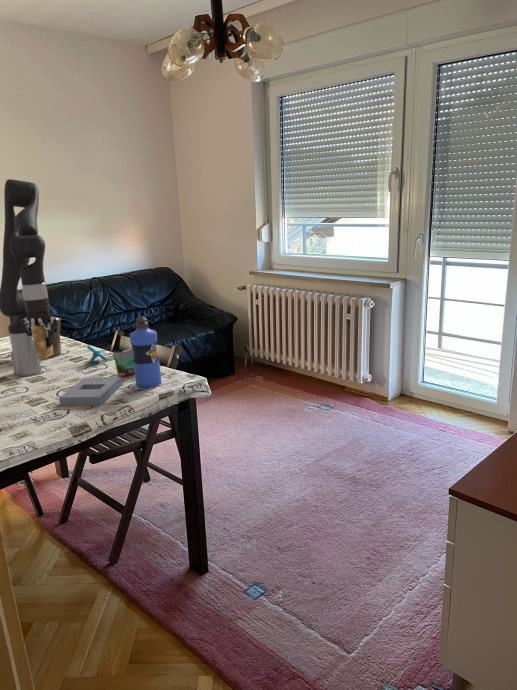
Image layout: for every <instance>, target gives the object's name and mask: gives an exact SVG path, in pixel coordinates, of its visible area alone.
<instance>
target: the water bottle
mask: <svg viewBox="0 0 517 690" xmlns="http://www.w3.org/2000/svg"><path fill="white" fill-rule="evenodd" d="M147 320H148V318H146V317H145V316H143V315H139V316H138V317H136V319H135V321H136V323H135V328H136V329H135V330H134V331H133V332H130V334H129V342H130V345H131V348H132V349H133V354H134V362H133V363H134V372H135V376H134V378H135V379H134V380H135V386H137V387H136V388H138V389H143V388H146V389H152V388H151V387H153V388H156V387H155V386H157V385H159V384H161V385H162V383H161V382H162V374H161V365H160V358H159V354H158V333H157V331H156V330H153V329H151V328H149V322H148V321H147ZM159 386H160V385H159ZM157 387H158V386H157Z"/></svg>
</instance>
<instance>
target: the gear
mask: <svg viewBox="0 0 517 690" xmlns="http://www.w3.org/2000/svg"><path fill="white" fill-rule="evenodd" d="M86 349H88V350H89V351H91V352H92V353H93V354H92V357H91V358H90V359H89V364H92V363H93V361H94V360H96V359H97V358H98V357H99V358H100V359H102V360H104V361H105V362H107V361H108V358H107V357H105V356H104V355H103V354H102V353H100V350H96V349H94V348H93V347H92V346H90V345H87V346H86Z"/></svg>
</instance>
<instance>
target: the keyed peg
mask: <svg viewBox="0 0 517 690" xmlns="http://www.w3.org/2000/svg"><path fill="white" fill-rule="evenodd" d="M46 327H47V326H46ZM32 333H33V339H34V345H35V351H36V357H37V359H39V360H42V359H43V360H45V359H48V358H47V357H49V356H51V355H52V354H54V351H53V345H51V347H50V348H47V347H46V341H45V335H44V331H43V328H42V326H41V325H40V326H33V327H32Z"/></svg>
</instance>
